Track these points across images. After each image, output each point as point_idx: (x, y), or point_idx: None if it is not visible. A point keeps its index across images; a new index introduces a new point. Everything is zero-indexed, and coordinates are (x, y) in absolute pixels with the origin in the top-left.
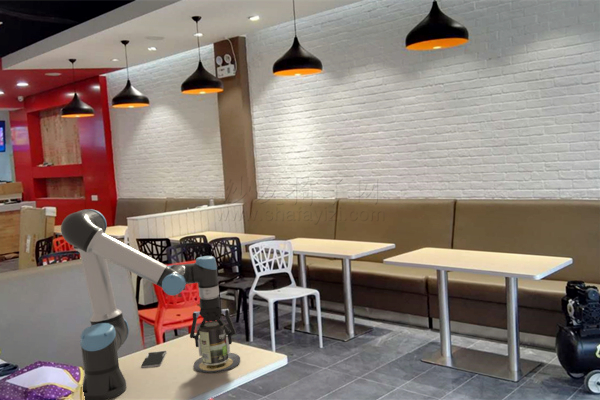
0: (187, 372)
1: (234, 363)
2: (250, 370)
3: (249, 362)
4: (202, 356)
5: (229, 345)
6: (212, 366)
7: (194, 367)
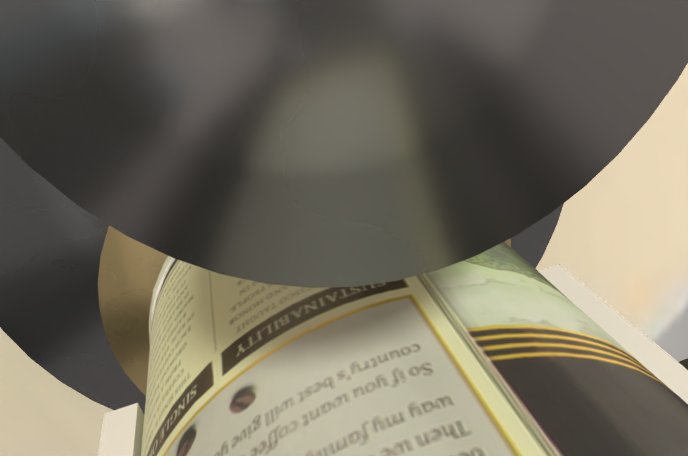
0: (37, 442)
1: (527, 248)
2: (653, 304)
3: (651, 133)
4: None
5: (622, 327)
6: None
7: (66, 374)
